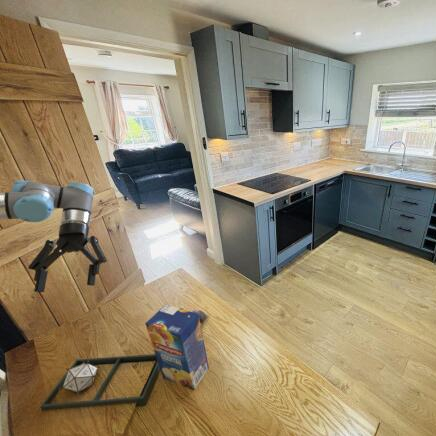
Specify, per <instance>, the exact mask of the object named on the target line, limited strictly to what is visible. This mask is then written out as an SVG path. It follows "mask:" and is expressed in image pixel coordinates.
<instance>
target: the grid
mask: <svg viewBox="0 0 436 436" xmlns="http://www.w3.org/2000/svg"><path fill="white" fill-rule="evenodd" d="M88 360H89V363H88V364H91V365H93V366H103V365H104V366H105V365H113V366H112V368H111V369H110V371H109V372H108V374H107V376H106V378H105V379H104V381H103V382H102V384H101V386H100V388H98V391H96V394H95V396H94V398H93V399H92V400H81V401H69V402H56V403H52V401H53V400H54V399H55V397H56V396H57V394H58V393H59V392H60V391H61V390H59V389H60V388H62V387H63V384H64V381H65V378H66V375H67V372H68V370H66V372H65V374H64V375H63V377H62V378H61V379H60V381H58V383H57V384H56V385H55V386H54V388H53V389H52V391H51V392H50V393H49V394H48V395H47V397H46V398H45V400H44V401H43V402H42V403H41V405H40V406H39V408H40V409H41V411H42V412H43V411H53V410H67V409H77V408H79V409H80V408H89V407H90V408H91V407H103V406H112V405H113V406H114V405H124V404H134V408H136V407H146V406H147V405H148V402H149V400H150V397H151V394H152V393H153V391H154V388H155V385H156V383H157V380H158V379H159V375H160V374H161V370H160V367H159V364H158V361H157V358H156V355H155V353H150V354H137V355H136V354H135V355H123V356H122V355H121V356H107V357H94V358H79V359H75V361H74V363H72V365H70V367H69V369H71V368H74V367H76V366H79V365H81V364H82V362H83V361H84V362H85V363H87V361H88ZM145 362H147V363H148V362H154V363H153V366H152V368H151V370H150V372H149V374H148V377H147V379H146V380H145V384H144V385H143V387H142V390H141V392H140V394H139V396H129V397H120V398H119V397H118V398H117V397H116V398H104V399H101V397H102V396H103V394H104V392H105V391H106V389H107V387H108V385H109V384H110V382H111V381H112V379H113V377H114V376H115V374H116V373H117V370H118V368H119V367H120V365H121V364H131V363H133V364H134V363H145ZM85 363H84V364H85Z"/></svg>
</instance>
